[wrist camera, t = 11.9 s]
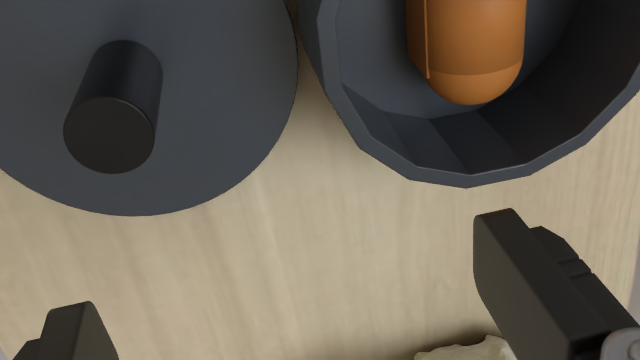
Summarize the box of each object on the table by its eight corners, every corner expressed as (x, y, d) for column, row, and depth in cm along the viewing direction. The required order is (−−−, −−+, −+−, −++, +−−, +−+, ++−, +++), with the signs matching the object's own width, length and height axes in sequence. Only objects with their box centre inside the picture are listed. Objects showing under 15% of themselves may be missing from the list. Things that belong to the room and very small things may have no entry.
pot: (270, -170, 22) (291, -166, 17) (614, -221, 24) (728, -231, 19) (316, 148, 30) (340, 215, 25) (575, 97, 31) (648, 151, 26)
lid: (-135, -90, 22) (-262, -55, 16) (265, -151, 23) (289, -139, 17) (24, 230, 29) (-20, 334, 24) (314, 172, 31) (342, 258, 25)
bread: (398, -114, 24) (435, -101, 20) (502, -132, 24) (557, -122, 20) (408, 90, 29) (440, 131, 25) (495, 73, 29) (538, 110, 25)
